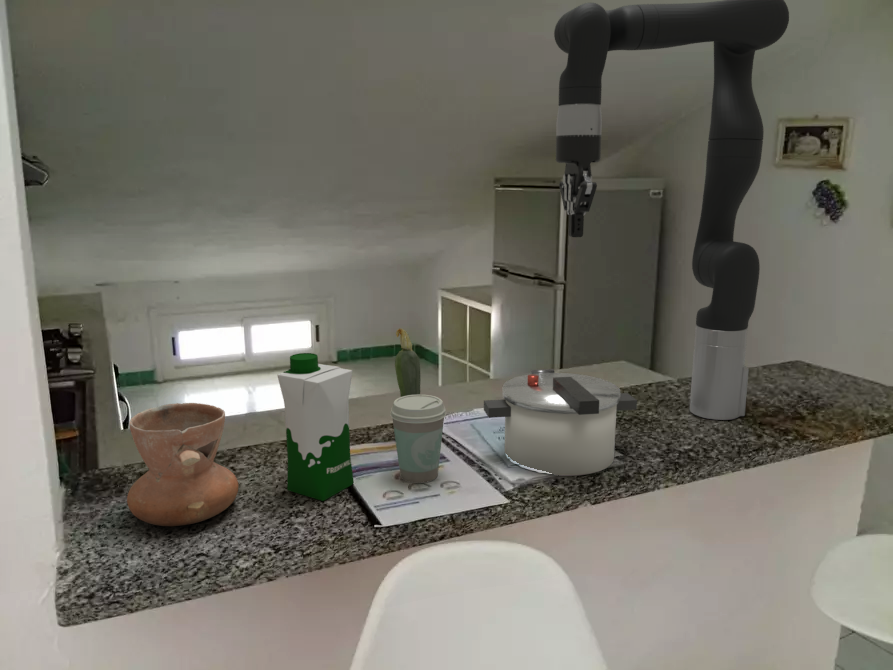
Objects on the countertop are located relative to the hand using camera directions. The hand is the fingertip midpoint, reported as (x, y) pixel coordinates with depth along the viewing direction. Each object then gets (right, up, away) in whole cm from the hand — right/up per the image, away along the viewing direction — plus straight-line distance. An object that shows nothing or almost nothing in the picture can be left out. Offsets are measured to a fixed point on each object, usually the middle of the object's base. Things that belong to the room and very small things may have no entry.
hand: (575, 236), depth 126 cm
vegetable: (-29, -36, +2) cm, 46 cm away
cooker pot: (-4, -37, -5) cm, 38 cm away
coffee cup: (-27, -39, -14) cm, 49 cm away
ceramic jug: (-59, -42, -25) cm, 77 cm away
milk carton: (-41, -40, -18) cm, 60 cm away
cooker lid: (-4, -27, -9) cm, 29 cm away
